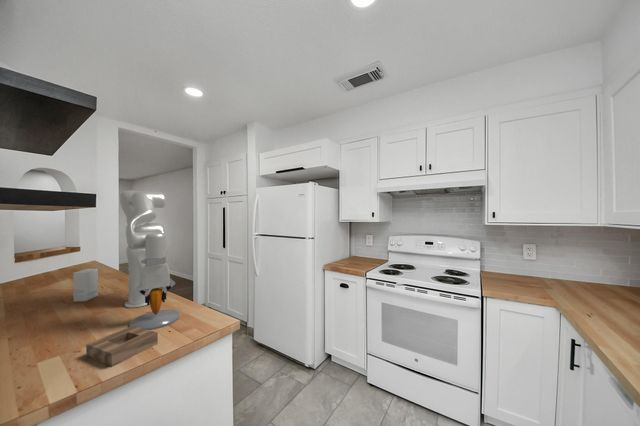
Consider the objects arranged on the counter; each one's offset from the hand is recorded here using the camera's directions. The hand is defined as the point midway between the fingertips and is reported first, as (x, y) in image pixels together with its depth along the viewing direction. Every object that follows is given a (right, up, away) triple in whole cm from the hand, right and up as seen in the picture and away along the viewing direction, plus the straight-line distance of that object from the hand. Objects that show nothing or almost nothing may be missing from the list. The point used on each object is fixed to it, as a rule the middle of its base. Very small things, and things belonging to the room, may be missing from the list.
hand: (155, 302), depth 104 cm
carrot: (0, -6, 0) cm, 6 cm away
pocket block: (+4, -8, -22) cm, 24 cm away
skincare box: (-55, -8, +25) cm, 62 cm away
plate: (0, -8, 0) cm, 8 cm away
